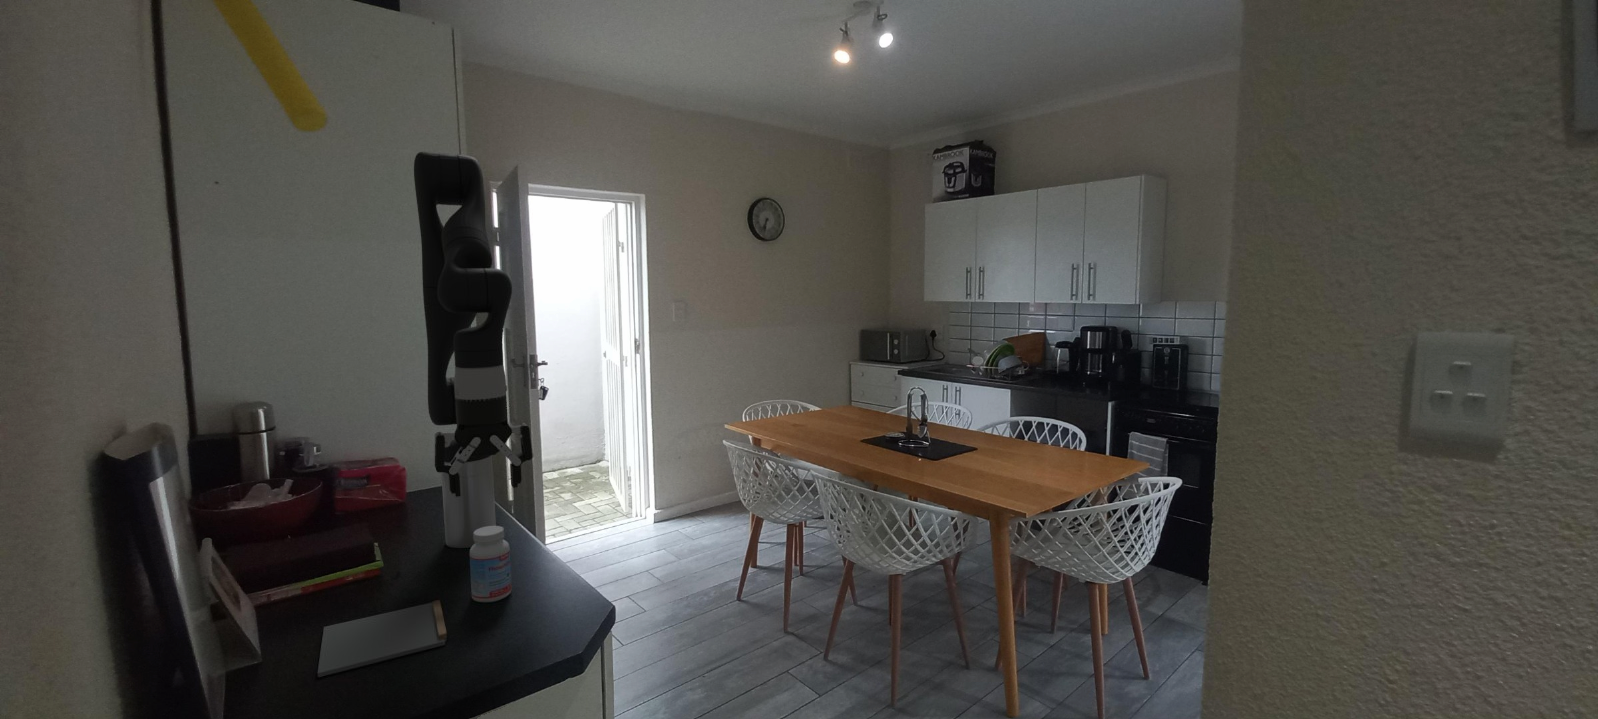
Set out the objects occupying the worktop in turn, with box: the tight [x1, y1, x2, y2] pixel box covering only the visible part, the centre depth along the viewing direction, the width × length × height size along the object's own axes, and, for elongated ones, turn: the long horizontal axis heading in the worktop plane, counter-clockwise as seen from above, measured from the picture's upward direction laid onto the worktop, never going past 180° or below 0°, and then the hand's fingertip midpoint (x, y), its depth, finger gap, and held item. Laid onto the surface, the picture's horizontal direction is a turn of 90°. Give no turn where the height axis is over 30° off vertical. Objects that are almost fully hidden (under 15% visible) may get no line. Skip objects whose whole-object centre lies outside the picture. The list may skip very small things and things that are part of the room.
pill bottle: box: [469, 525, 513, 603], centre depth 111 cm, size 6×6×11 cm
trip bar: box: [432, 599, 448, 642], centre depth 102 cm, size 12×1×1 cm, turn 32°
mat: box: [317, 602, 446, 678], centre depth 98 cm, size 14×15×1 cm
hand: (486, 490), depth 109 cm, fingers open, 8 cm apart
